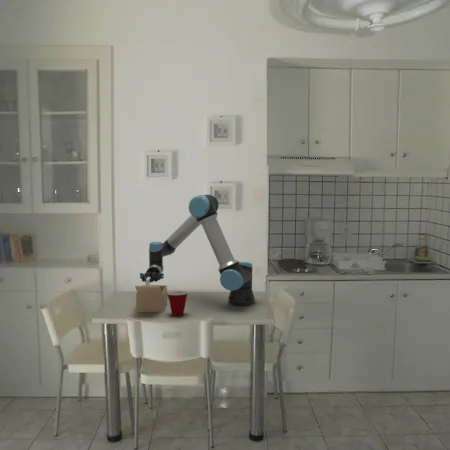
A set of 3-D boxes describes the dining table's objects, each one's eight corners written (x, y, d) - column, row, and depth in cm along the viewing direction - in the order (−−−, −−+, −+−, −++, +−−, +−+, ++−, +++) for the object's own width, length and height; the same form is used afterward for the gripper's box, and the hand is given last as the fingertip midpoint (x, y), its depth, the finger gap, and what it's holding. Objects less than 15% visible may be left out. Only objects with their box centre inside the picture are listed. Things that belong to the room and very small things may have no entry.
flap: (161, 291, 241) (159, 285, 232) (161, 293, 240) (159, 286, 231) (138, 291, 240) (135, 285, 231) (137, 292, 240) (135, 286, 231)
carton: (166, 303, 259) (166, 285, 258) (163, 312, 241) (163, 293, 240) (141, 302, 259) (141, 285, 258) (136, 312, 241) (136, 293, 240)
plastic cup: (183, 310, 245) (183, 288, 243) (191, 316, 235) (191, 292, 234) (163, 313, 239) (163, 290, 238) (171, 319, 230) (171, 295, 229)
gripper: (165, 279, 256) (160, 289, 232) (141, 279, 255) (134, 289, 232) (165, 266, 255) (160, 275, 231) (141, 266, 255) (134, 274, 231)
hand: (147, 282), depth 232 cm, fingers closed
